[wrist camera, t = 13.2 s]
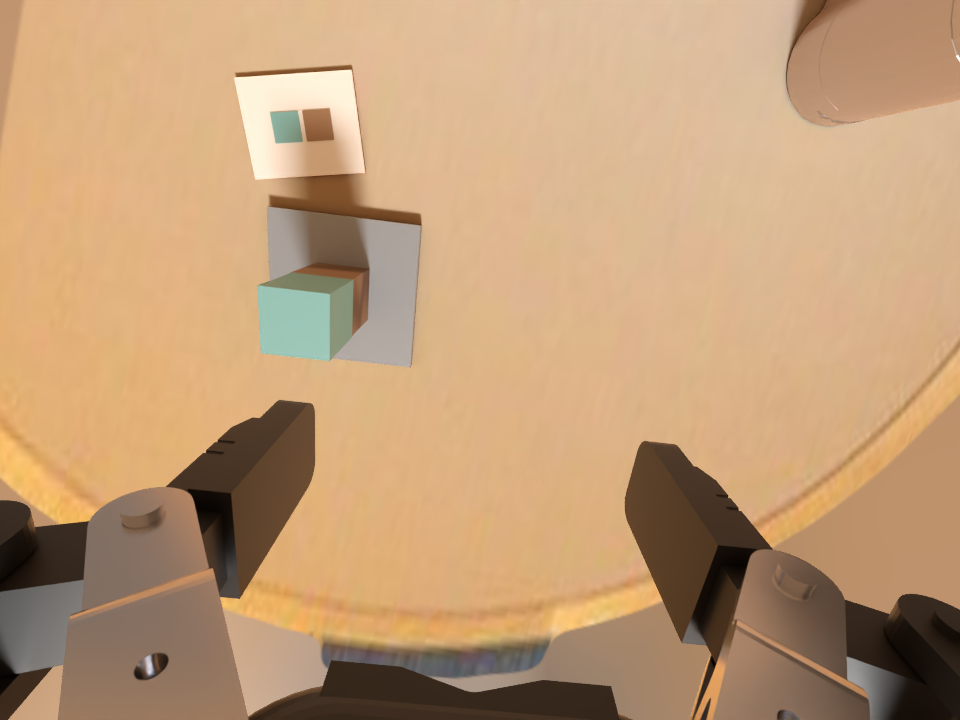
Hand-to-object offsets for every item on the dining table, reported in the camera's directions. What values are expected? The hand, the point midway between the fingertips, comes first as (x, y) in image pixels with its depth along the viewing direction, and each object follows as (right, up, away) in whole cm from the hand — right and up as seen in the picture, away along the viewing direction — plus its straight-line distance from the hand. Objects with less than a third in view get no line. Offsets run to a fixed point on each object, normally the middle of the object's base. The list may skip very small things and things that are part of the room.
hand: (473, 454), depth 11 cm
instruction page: (-15, +23, +28) cm, 39 cm away
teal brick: (-13, +7, +27) cm, 30 cm away
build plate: (-13, +9, +33) cm, 37 cm away
